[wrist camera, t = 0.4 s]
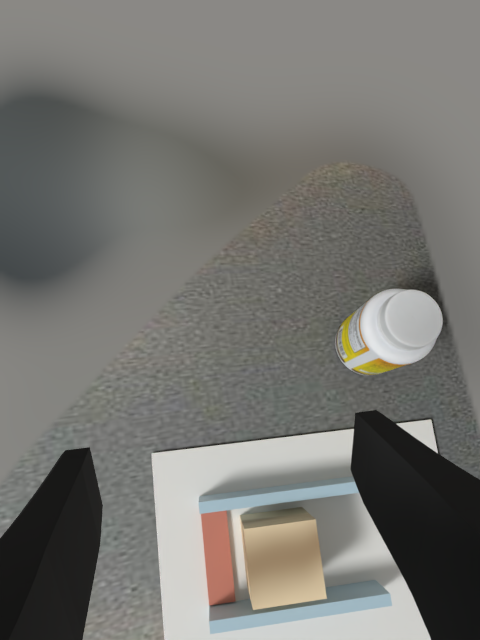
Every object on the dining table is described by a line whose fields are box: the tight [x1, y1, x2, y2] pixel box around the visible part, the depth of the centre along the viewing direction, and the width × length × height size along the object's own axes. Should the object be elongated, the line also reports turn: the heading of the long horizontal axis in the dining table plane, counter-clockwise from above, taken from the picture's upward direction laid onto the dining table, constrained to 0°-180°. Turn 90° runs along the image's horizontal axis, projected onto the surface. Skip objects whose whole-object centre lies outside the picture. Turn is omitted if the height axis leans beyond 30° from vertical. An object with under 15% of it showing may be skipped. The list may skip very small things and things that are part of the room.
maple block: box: [240, 507, 327, 610], centre depth 33 cm, size 5×5×5 cm
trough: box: [199, 476, 392, 634], centre depth 35 cm, size 9×13×3 cm, turn 96°
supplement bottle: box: [335, 289, 443, 375], centre depth 35 cm, size 6×6×10 cm
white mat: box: [152, 420, 438, 640], centre depth 36 cm, size 18×24×1 cm
